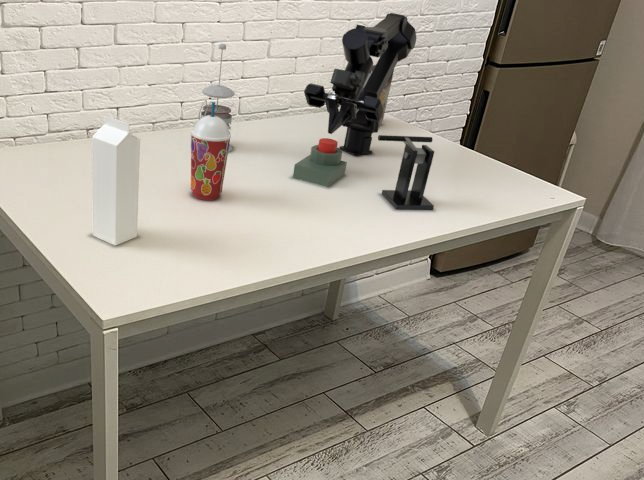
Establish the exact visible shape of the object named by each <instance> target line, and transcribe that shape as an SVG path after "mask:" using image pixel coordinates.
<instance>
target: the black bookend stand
mask: <svg viewBox="0 0 644 480" xmlns="http://www.w3.org/2000/svg"><path fill="white" fill-rule="evenodd" d="M421 148H422V149H423V150H424V151H425V153H426V157H425V160H424V163H423V164H416V169H415V172H414V176H413V171H414V168H415V160H416V156H417V152H418V151H417V150H416V149H415V148H413V147H412V146H411V145H410V144H406V145H405V144H404V149H403V155H402V159H401V162H400V167H399V170H398V175H397V180H396V184H395V189H382V190H381V196H382V197H383V198H384V199H385V200H386V201H387V202H388V203H389V204H390V206H392V208H394V210H395V211H434V208H435V205H434V204H433V203H432V202H431V201H430V200H429V199H427V197H425V196H424V194H425V190H426V186H427V182H428V180H429V179H428V178H429V175H430V171H431V167H432V164H433V160H434V155H435V150H433V149H432V148H431V147H430V146H428V145H427V144H422V145H421ZM412 176H413V181H412V185H411V188H410V184H411V180H412ZM409 189H411V190H409Z"/></svg>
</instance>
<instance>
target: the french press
mask: <svg viewBox="0 0 644 480" xmlns="http://www.w3.org/2000/svg"><path fill="white" fill-rule="evenodd" d="M218 49H219V50H221V53H220V63H219V64H220V66H219V77H218V84H213V85H212V84H211V85H208V86H206V87H204V88H203V89H202V90H201V92H202V94H203V96H207V97H210V98H214V99H217V100H216V104H215V112H214V115H215V116H217V117H219V118H221V119H222V120H223V121H224V122H225V123H226V125H227V126H228V129H229V132H230V133H231V126H230V125H232V119H233V115H232V114H230V113H231V112H232V109H231V108H230V107H228V106H225V105H220V104H219V99H229V98H233V97H234V96H235V94H236V93H235V92H234V91H233V90H232V89H231V88H229V87H227V86H226V85H221V75H222V74H221V73H222V61H223V51H224V50H227V45H226V44H225V43H219V45H218ZM212 102H213V101H210V102H209V103H208V100H207V99H205V100H204V101H203V102H202V104H201V105H200V109H199V112H198V120H200V119H201V118H202V117H204V116H208V115H211V109H212ZM204 104H205V105H204ZM202 110H203V111H202ZM231 151H233V146H232V145H231V144H230V143H229V150H228V153H231Z"/></svg>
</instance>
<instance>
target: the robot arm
mask: <svg viewBox="0 0 644 480" xmlns="http://www.w3.org/2000/svg"><path fill="white" fill-rule="evenodd" d="M341 43H342V48H343V53H344V58H345V61H346V62H347V64H346V66H345V68H344V69H339V68H334V69H333V73H332V76H331V79H330V84H332V87H331V90H332V92H331V91H328V92H326V89H325V86H324V85H320V84H315V83H312V82H310V83H308V84H307V85H306V86H305V88H304V90H303V94H304V97H305V100H306V104H307V105H309V106H310V107H314V108H318V109H320V108H323V107H326V111H327V113H328V115H329V116H328V125H327V127H328V128H327V133H328V134H330V135H332V134H334V133H335V132H336V131H337V130H339V128H341V127H345V128H346V133H345V138H344V144H343V145H340V146H339V148H338V149H340V150H342V151H344V152H346V153H348V154H350V155H352V156H356V157H358V156H364V155H370V154H373V150H371V145H372V141H373V137H372V135H373V134H375V133H376V134H377V133H378V132H379V130H380V125H379V124H380V119H381V117H382V113H383V109H382V102H381V100H380V99H379V97H380V95H381V93H382V91H383V89H384V87H385V85H386V83H387V81H388V79H389V77H390V76H391V74H392V72H393V70H394V71H395V68H396V66H397V64H398V63H399V62H400V61H402V60H405V59H406V58H408V56H409V54H410V53H411V51H412V50H414V48H415V46H416V43H417V33H416V29H415V27H414V26H413V25H412V24H411V23H410V22H409V20H408V16H405V14H400V13H395V12H391V13H387V14H386V15H385V18H383V19H382V20H381V21H379V22H378V23H377V24H375V25H373V26H366V25H361V24H357V25H356V26H355V28H351V29H349V30H347V31H346V32H345V33H344V34H343V36H342V38H341ZM373 57H374V58H378V60H377V62H376V64H375V65H376V66H375V68H374V69H373V71H372V66H373V65H374V60H373ZM371 71H372V73H371ZM369 73H371V75H370V77H369V79H368V81H367V83H366V84H365V82H366V80H367V77H368V75H369ZM393 73H394V72H393ZM364 84H365V86H364ZM363 86H364V88H363Z"/></svg>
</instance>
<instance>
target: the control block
mask: <svg viewBox="0 0 644 480" xmlns="http://www.w3.org/2000/svg"><path fill="white" fill-rule="evenodd" d="M318 145H319V144H316V145H313V146H311V148H310V154H309V155H307V156H306V157H303V158H302V159H301V160H299V161H297V162H296V163H295V164H294V168H293V173H292V178H293V179H295V180H298V181H303V182H307V183H310V184H314V185H318V186H321V187H325V188H329V187H330V186H331V185H333V184H334V183H335V182H337V181H338V180H340V179H341V178H342V177H344V176H345V174H346V168H347V161H345V160H342V158H343V150H342V149H340V148H338V147H337V149H336V153H332V154H330V153H323V152H320V151H318Z"/></svg>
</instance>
